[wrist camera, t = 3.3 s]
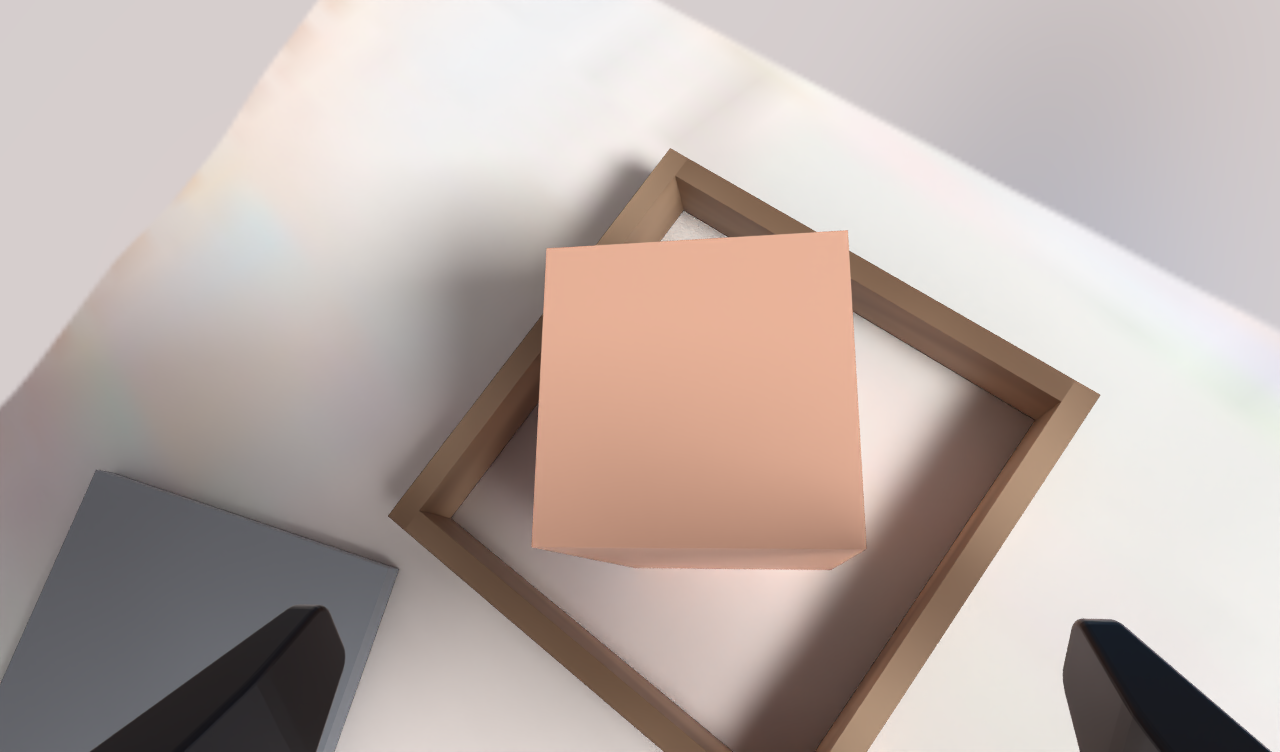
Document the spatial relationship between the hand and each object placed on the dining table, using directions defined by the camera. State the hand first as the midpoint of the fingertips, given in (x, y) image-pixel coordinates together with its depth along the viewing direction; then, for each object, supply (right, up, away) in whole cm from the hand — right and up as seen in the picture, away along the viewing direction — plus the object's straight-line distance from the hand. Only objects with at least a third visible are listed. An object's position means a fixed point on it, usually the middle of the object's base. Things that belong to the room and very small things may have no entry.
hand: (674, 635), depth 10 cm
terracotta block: (+2, +1, +11) cm, 12 cm away
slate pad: (-13, -6, +12) cm, 19 cm away
